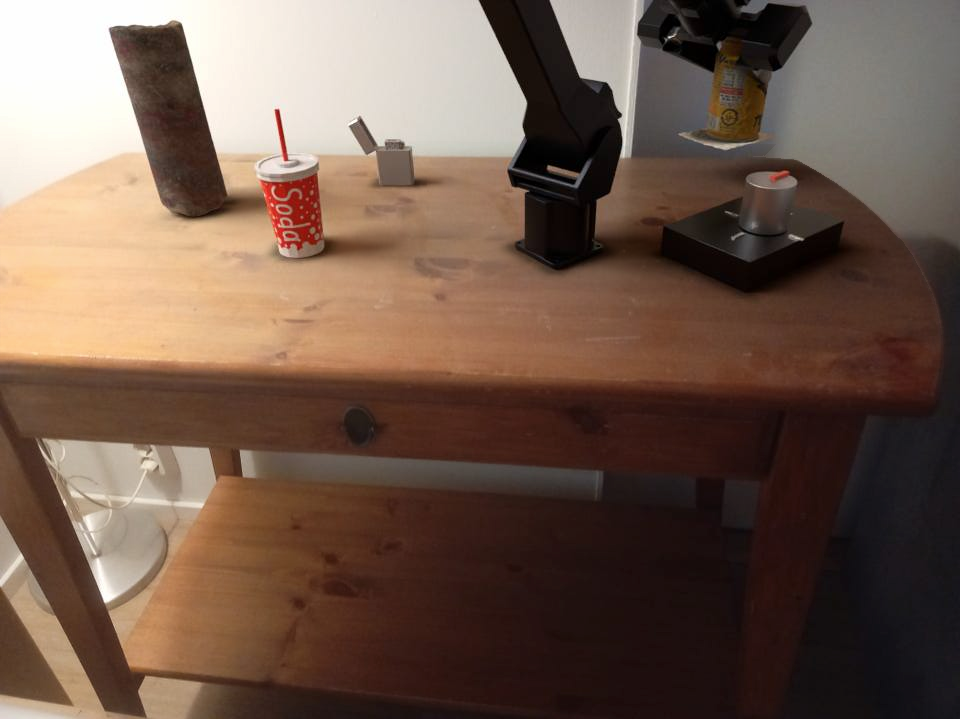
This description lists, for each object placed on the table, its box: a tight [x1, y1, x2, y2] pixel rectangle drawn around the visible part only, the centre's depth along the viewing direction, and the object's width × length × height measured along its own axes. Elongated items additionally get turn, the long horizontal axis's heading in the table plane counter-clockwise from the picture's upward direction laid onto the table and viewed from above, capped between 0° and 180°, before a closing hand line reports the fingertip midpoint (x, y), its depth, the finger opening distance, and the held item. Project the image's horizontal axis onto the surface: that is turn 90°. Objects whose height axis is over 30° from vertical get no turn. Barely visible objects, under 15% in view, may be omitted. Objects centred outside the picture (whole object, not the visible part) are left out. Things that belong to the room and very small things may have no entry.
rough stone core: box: [108, 19, 228, 217], centre depth 81 cm, size 8×7×20 cm
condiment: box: [677, 36, 776, 151], centre depth 83 cm, size 7×8×12 cm
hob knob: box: [739, 170, 798, 235], centre depth 68 cm, size 4×4×5 cm
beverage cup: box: [254, 108, 326, 259], centre depth 72 cm, size 6×6×14 cm
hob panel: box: [659, 195, 845, 293], centre depth 71 cm, size 14×10×3 cm
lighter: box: [347, 115, 416, 186], centre depth 89 cm, size 7×2×8 cm, turn 85°
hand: (744, 76), depth 84 cm, fingers closed on condiment, 6 cm apart
